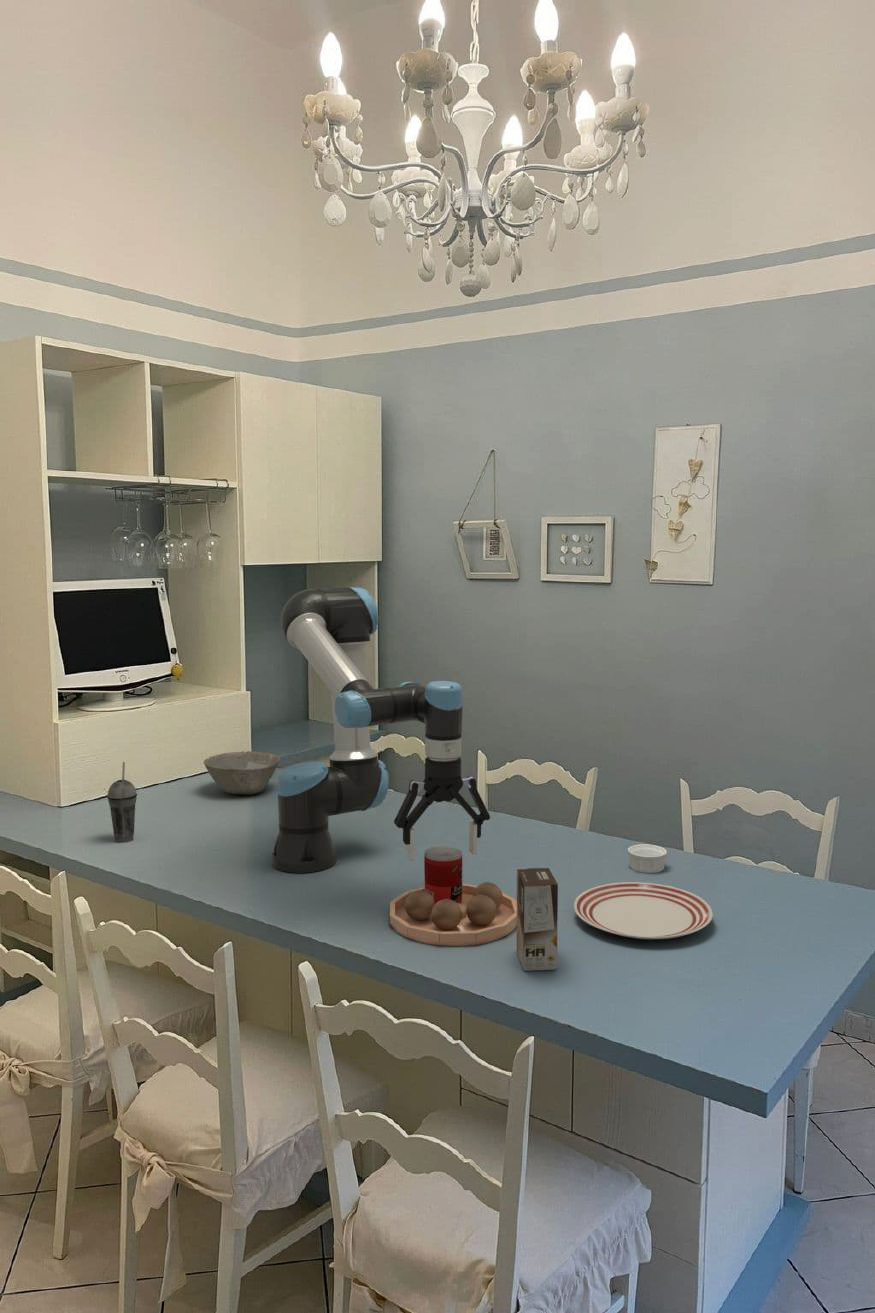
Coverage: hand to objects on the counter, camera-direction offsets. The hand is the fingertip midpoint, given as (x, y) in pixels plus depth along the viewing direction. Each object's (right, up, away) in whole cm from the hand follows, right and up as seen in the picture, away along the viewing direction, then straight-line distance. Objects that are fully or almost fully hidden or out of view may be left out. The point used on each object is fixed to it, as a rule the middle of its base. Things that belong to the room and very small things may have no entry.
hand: (442, 855), depth 208 cm
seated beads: (+3, -11, -7) cm, 13 cm away
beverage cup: (-81, -5, +46) cm, 93 cm away
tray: (+2, -12, -6) cm, 13 cm away
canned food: (0, -10, +1) cm, 10 cm away
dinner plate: (+40, -12, -7) cm, 43 cm away
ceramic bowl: (-59, +1, +91) cm, 108 cm away
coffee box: (+17, -14, -25) cm, 33 cm away
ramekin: (+48, -8, +24) cm, 54 cm away
